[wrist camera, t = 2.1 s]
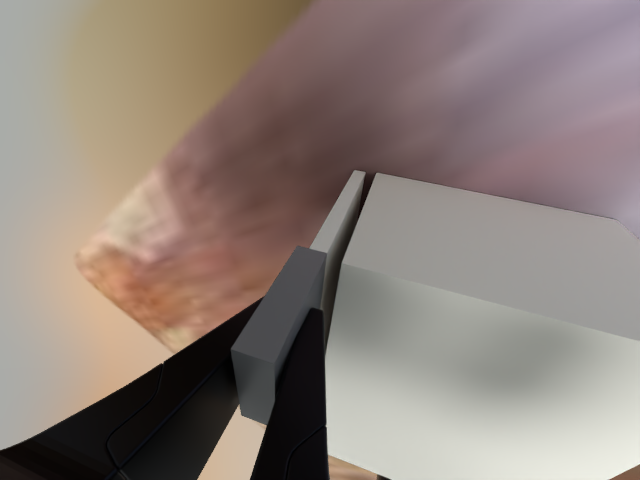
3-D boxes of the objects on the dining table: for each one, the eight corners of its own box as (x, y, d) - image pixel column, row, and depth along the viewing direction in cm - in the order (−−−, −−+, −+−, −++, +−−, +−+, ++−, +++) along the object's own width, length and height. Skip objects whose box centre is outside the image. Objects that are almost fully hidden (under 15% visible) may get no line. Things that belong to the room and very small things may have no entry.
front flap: (335, 338, 23) (277, 528, 14) (323, 334, 23) (258, 519, 14) (365, 172, 15) (274, 363, 6) (347, 168, 15) (230, 349, 6)
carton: (485, 382, 21) (512, 527, 15) (340, 337, 23) (309, 446, 17) (616, 219, 13) (800, 383, 7) (376, 172, 15) (341, 262, 9)
